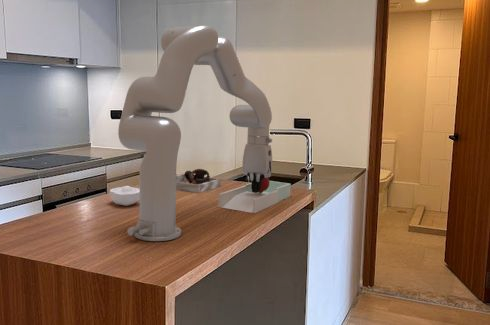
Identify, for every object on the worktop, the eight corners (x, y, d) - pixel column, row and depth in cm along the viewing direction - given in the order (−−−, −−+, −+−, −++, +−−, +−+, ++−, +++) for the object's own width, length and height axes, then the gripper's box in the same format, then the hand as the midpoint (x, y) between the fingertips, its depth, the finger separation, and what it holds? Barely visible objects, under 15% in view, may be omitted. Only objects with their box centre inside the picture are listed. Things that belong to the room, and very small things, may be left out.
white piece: (254, 216, 150) (255, 199, 150) (218, 209, 157) (218, 193, 156) (277, 205, 166) (278, 190, 165) (243, 199, 173) (244, 185, 172)
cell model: (137, 199, 163) (137, 180, 162) (143, 207, 152) (144, 187, 151) (107, 201, 159) (107, 181, 158) (112, 209, 148) (112, 189, 147)
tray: (276, 202, 166) (277, 188, 165) (244, 197, 172) (245, 184, 172) (290, 196, 177) (290, 183, 176) (260, 191, 183) (260, 179, 182)
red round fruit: (267, 193, 165) (270, 172, 166) (251, 191, 166) (255, 169, 167) (268, 194, 171) (271, 173, 172) (253, 192, 172) (256, 171, 173)
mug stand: (198, 193, 177) (198, 185, 176) (158, 186, 186) (159, 179, 185) (221, 186, 192) (221, 179, 191) (183, 180, 200) (184, 173, 200)
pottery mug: (214, 186, 194) (215, 171, 189) (203, 199, 187) (203, 184, 182) (189, 176, 197) (189, 161, 192) (177, 189, 190) (177, 174, 185)
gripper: (281, 141, 162) (279, 192, 165) (244, 138, 169) (242, 187, 172) (272, 143, 156) (270, 196, 158) (234, 139, 163) (232, 190, 165)
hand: (255, 191), depth 165 cm, fingers closed
